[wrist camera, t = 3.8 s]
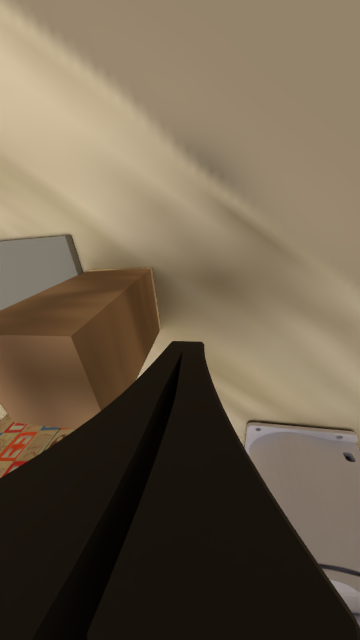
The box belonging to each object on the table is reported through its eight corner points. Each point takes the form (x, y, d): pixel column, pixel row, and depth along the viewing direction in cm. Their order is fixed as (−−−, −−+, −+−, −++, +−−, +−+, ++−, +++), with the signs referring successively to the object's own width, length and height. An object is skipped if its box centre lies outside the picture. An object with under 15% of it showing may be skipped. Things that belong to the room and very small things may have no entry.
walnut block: (151, 267, 14) (70, 336, 6) (161, 328, 16) (110, 433, 9) (88, 270, 15) (-52, 333, 7) (105, 327, 17) (14, 422, 10)
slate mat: (70, 234, 14) (65, 235, 13) (107, 350, 19) (104, 354, 18) (-52, 245, 16) (-61, 246, 15) (9, 347, 21) (4, 351, 20)
